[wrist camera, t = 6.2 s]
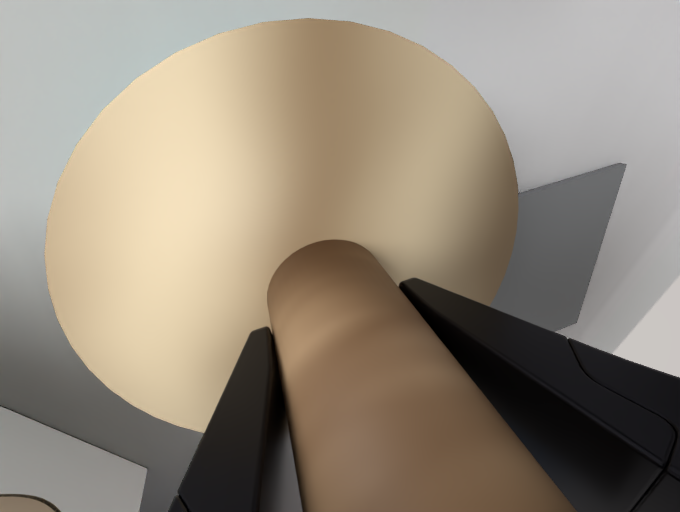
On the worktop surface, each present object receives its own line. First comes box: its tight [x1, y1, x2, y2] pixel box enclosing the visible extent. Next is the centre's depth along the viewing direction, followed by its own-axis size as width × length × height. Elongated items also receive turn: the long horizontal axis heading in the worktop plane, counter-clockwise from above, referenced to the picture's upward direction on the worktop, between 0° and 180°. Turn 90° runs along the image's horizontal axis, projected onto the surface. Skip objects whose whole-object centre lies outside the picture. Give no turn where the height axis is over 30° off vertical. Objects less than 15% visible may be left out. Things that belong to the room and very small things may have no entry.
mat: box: [489, 163, 627, 332], centre depth 22 cm, size 13×13×1 cm
